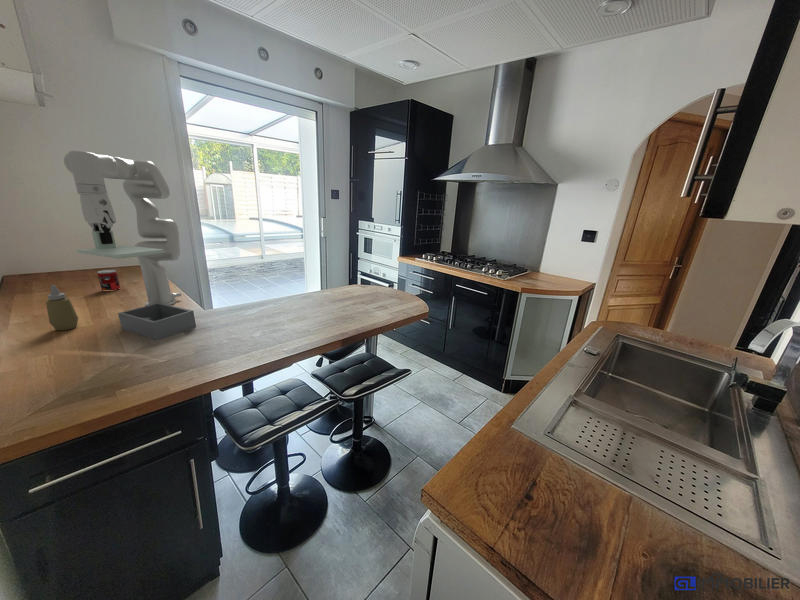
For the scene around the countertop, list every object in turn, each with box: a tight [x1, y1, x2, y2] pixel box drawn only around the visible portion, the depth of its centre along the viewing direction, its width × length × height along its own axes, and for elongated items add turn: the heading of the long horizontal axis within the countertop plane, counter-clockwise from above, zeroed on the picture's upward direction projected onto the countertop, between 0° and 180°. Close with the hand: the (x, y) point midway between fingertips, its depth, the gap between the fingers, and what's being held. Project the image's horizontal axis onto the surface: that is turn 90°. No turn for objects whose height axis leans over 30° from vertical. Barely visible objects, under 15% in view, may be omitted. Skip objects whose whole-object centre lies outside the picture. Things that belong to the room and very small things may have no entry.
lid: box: [76, 230, 164, 260], centre depth 110 cm, size 15×22×8 cm
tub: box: [117, 303, 197, 341], centre depth 125 cm, size 15×22×8 cm
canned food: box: [96, 269, 121, 291], centre depth 175 cm, size 8×8×11 cm
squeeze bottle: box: [45, 284, 79, 332], centre depth 122 cm, size 8×8×18 cm
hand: (104, 243), depth 113 cm, fingers closed on lid
